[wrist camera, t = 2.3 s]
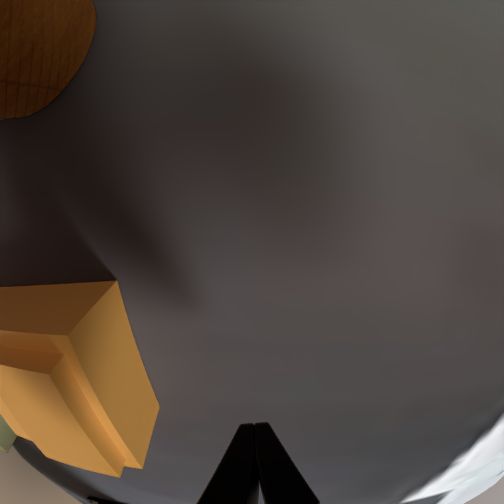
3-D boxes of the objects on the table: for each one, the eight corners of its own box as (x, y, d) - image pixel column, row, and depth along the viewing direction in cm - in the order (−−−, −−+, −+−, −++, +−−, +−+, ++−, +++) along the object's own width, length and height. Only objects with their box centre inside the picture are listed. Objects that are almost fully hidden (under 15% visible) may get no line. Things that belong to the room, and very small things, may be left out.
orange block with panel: (159, 406, 13) (137, 487, 8) (44, 391, 13) (9, 446, 8) (117, 280, 11) (51, 355, 6) (-4, 287, 11) (-64, 332, 6)
